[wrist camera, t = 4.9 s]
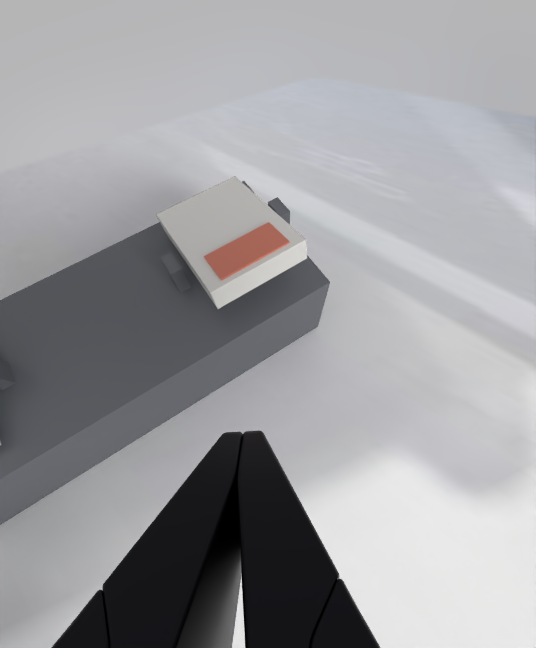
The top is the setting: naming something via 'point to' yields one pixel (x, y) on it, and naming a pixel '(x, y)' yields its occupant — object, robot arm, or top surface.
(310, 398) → the top surface
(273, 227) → the outlet rocker
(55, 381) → the power strip
